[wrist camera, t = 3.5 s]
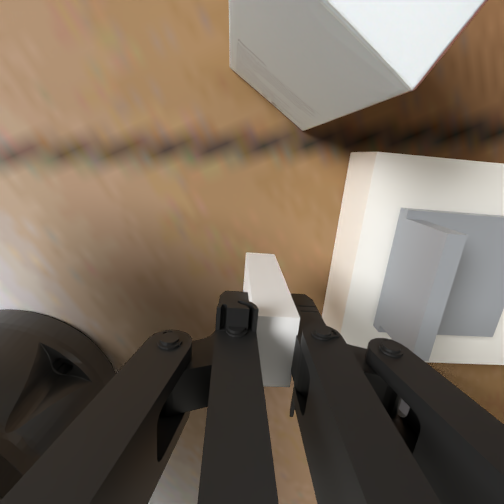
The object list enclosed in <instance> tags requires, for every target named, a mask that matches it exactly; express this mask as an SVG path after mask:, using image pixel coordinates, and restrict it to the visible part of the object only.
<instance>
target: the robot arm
mask: <svg viewBox="0 0 504 504" xmlns="http://www.w3.org/2000/svg"><path fill="white" fill-rule="evenodd" d="M291 375H292V377H293V381H294V388H293V395H292V401H291V407H290V417H293V414H294V410H296V415H297V419H298V423H299V427H300V432H301V436H302V440H303V444H304V449H305V453H306V457H307V461H308V466H309V470H310V474H311V478H312V483H313V487H314V491H315V495H316V499H317V504H504V424H502V423H501V422H500V421H499V420H497V419H496V418H495V417H494V416H492V415H491V414H490V413H489V412H487V411H486V410H485V409H484V408H482V407H481V406H480V405H479V404H477V403H476V402H475V401H474V400H472V399H471V398H470V397H468V396H467V395H466V394H465V393H463V392H462V391H461V390H460V389H458V388H457V387H456V386H455V385H453V384H452V383H451V382H450V381H448V380H447V379H446V378H445V377H443V376H442V375H441V374H440V373H438V372H437V371H436V370H435V369H433V368H432V367H431V366H430V365H428V364H427V363H426V362H424V361H423V360H422V359H421V358H419V357H418V356H417V355H416V354H414V353H413V352H412V351H411V350H409V349H408V348H407V347H405V346H404V345H402V344H400V343H398V342H396V341H394V340H392V339H388V338H375V339H371V340H370V341H369V343H368V347H367V349H366V348H361V347H357V346H353V345H350V344H347V343H346V342H345V340H344V338H343V337H342V335H341V334H340V333H339V332H338V331H337V330H335V329H333V328H331V327H329V326H326V324H325V322H324V320H323V319H322V317H321V315H320V313H319V311H318V309H317V307H316V306H315V304H314V302H313V300H312V299H310V298H309V297H308V296H306V295H305V294H290V291H289V289H288V287H287V284H286V282H285V279H284V277H283V274H282V272H281V269H280V267H279V264H278V262H277V259H276V257H275V254H263V253H248V252H246V262H245V273H244V285H243V292H236V291H225V292H223V293H222V294H221V295H220V299H219V304H218V306H217V313H216V331H215V332H214V333H213V334H212V335H210V336H209V337H207V338H204V339H200V340H195V341H192V339H191V337H190V336H189V335H188V334H187V333H185V332H182V331H179V330H165V331H161V332H158V333H156V334H154V335H152V336H151V337H150V338H148V340H147V341H146V342H145V343H144V344H143V345H142V346H141V347H140V348H139V349H138V351H137V352H136V353H135V354H134V355H133V356H132V357H131V358H130V359H129V360H128V362H127V363H126V364H125V365H124V366H123V367H122V368H121V369H120V370H119V371H118V372H117V374H115V372H114V369H113V367H112V365H111V364H110V362H109V360H108V359H107V358H106V356H105V355H104V354H103V352H102V351H101V350H100V349H99V348H98V347H97V346H96V345H95V344H94V343H93V342H92V341H91V340H90V339H89V338H87V337H86V336H85V335H83V334H82V333H81V332H79V331H78V330H76V329H74V328H73V327H71V326H69V325H67V324H65V323H63V322H61V321H59V320H56V319H54V318H51V317H48V316H45V315H41V314H38V313H33V312H28V311H21V310H0V504H148V502H149V500H150V498H151V496H152V494H153V492H154V489H155V487H156V485H157V483H158V481H159V479H160V477H161V475H162V473H163V470H164V468H165V466H166V464H167V462H168V460H169V458H170V456H171V454H172V451H173V449H174V447H175V445H176V443H177V441H178V439H179V437H180V435H181V432H182V430H183V428H184V426H185V424H186V422H187V420H188V418H189V414H190V411H192V410H196V409H200V408H203V407H207V406H208V408H207V418H206V427H205V437H204V447H203V456H202V466H201V476H200V485H199V495H198V504H278V496H277V488H276V481H275V473H274V465H273V457H272V449H271V442H270V434H269V426H268V418H267V411H266V403H265V395H264V387H263V386H272V387H290V382H291ZM402 399H403V401H404V402H405V403H406V404H407V405H408V406H409V407H410V408H409V412H408V414H407V416H406V415H405V414H403V413H402V412H401V411H400V410H399V407H400V403H401V400H402Z"/></svg>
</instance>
